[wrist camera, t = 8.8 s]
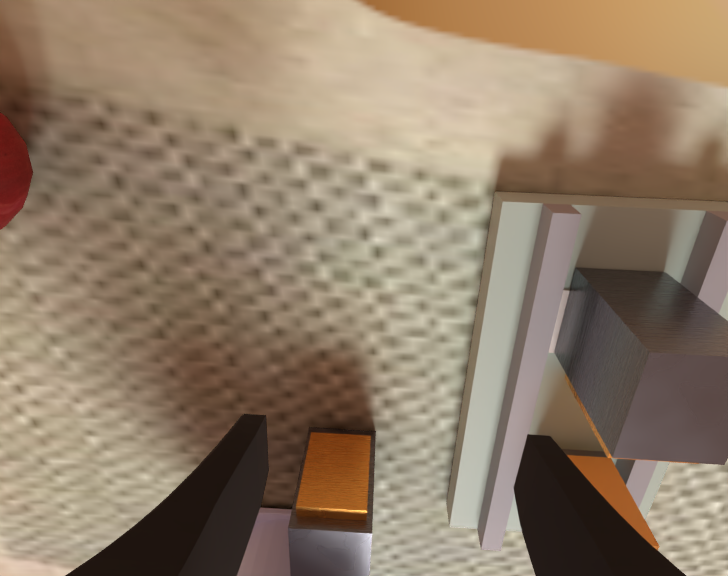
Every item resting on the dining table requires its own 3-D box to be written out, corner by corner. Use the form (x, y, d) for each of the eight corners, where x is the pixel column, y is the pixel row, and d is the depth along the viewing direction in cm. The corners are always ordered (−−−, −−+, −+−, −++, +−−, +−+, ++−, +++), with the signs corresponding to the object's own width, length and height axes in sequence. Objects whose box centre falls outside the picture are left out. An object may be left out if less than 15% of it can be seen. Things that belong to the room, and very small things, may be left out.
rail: (624, 514, 27) (703, 668, 20) (446, 503, 27) (465, 651, 20) (747, 202, 19) (945, 283, 12) (494, 191, 19) (551, 264, 13)
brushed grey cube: (632, 368, 21) (717, 478, 15) (551, 363, 21) (607, 471, 15) (665, 271, 19) (777, 359, 13) (575, 267, 19) (649, 352, 13)
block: (372, 485, 27) (368, 593, 22) (310, 481, 27) (291, 587, 22) (376, 422, 25) (372, 523, 20) (309, 418, 25) (287, 518, 20)
